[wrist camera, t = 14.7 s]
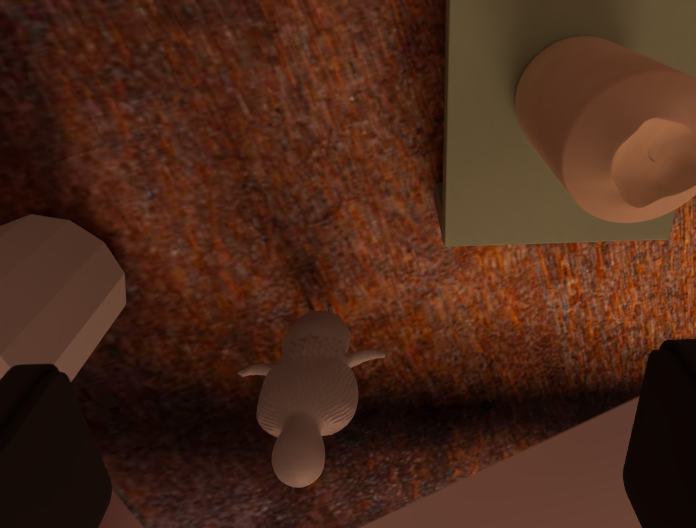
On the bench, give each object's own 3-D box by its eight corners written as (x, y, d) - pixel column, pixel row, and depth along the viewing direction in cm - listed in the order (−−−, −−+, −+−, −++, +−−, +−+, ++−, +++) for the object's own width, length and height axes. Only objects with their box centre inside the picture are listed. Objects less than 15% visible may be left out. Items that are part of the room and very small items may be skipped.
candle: (655, 59, 27) (789, 115, 18) (593, 166, 29) (683, 261, 21) (548, 16, 26) (633, 53, 17) (493, 129, 29) (543, 211, 20)
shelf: (438, -86, 30) (450, -92, 24) (682, -104, 29) (750, -114, 23) (435, 204, 37) (444, 247, 32) (627, 197, 36) (669, 240, 31)
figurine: (266, 342, 43) (217, 516, 30) (251, 298, 41) (192, 463, 28) (391, 324, 42) (396, 498, 29) (381, 278, 40) (383, 441, 27)
